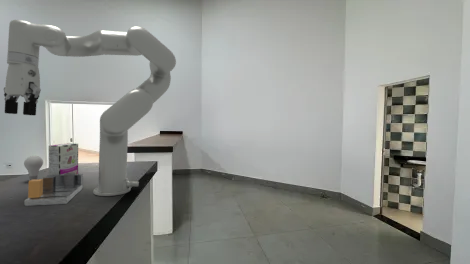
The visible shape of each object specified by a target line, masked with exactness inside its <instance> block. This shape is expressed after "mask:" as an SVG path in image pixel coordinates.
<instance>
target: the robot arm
mask: <svg viewBox="0 0 470 264" xmlns="http://www.w3.org/2000/svg"><path fill="white" fill-rule="evenodd" d="M7 43H8V44H7V56H6V57H7V58H6V63H7V64H8V67H7V71H6V77H5V87H3V92H4V94H3V96H4V113H5V114H9V115H10V114H12V115H18V113H19V112H18V111H19V110H18V109H19V102H18V99H19V98H20V97H21V98H24V99H23V100H25V101H23V107H22V108H23V110H22V114H23V115H25V116H36V115H37V103H38V102H39V101H38V99H39V98H40V93H41V90H42V89H41V78H40V77H41V76H40V75H41V74H40V68H39V62H40V61H39V60H40V58H39V57H40V47H43V48H45V49H46V50H47V51H48V52H49V53H51V54H52V55H55V56H59V57H73V58H75V57H76V58H79V57H82V58H83V57H96V56H98V57H99V56H103V55H105V56H107V55H109V56H132V57H133V56H143V57H144V58H146V60H148V61H149V69H150V74H149V77H148V78H146V80H144V81H143V82H142V83H141V84H139V86H138V87H136V88H133V89H131V90H128V92H127V93H126V94H124V95H123V96H122V97H121V98H119V100H117V101H116V102H114V103H113V104H112V105H111V106H110V107H108V108H107V109H105V110H104V112H103V113H101V115H100V117H99V146H98V147H99V148H98V149H99V151H98V185H97V187H95V188H94V189H93V190H92V192H93V194H94V195H95V196H100V197H112V196H120V195H125V194H127V193H129V192H130V191H131V187H134V188H135V187H139V184H140V182H139V181H138V180H137V181H136V180H129V177H127V172H128V168H127V166H128V148H129V147H128V136H129V135H128V131H129V129H131V128H132V127H133V126H135V124H137V123H138V122H140V120H141V119H143V117H145V116H146V115H147V114H148V113H149V112H150V111H151V110H152V108H153V105H154V104H155V103H156V102H157V101H158V100H159V99H160V98H161V97H162V96H163V95H164V94H165V93H166V92H167V91H168V90H169V88H170V85H171V79H172V77H171V72H172V71H173V70H174V69H175V68H176V64H177V59H176V57H175V54H174V53H173V52H172V50H170V49H169V48H168V47H167V46H166V45H165V44H164V43H163V42H161V41H160V40H159V39H158V38H157V37H156V36H155V35H153V34H152V33H151V32H150V31H148V30H147V29H146V28H143V27H141V26H138V25H136V26H131V27H130V28H129V29H128V30H127V31H118V30H107V29H106V30H105V29H100V30H99V29H98V30H96V31H94V32H92V33H89V34H88V35H80V36H74V35H73V36H72V35H66V33H65V32H64V31H63V29H62V28H60V27H59V26H55V25H50V24H43V23H40V24H38V23H32V22H30V21H27V20H24V19H23V20H22V19H13V20H11V21H10V22H9V27H8V41H7Z"/></svg>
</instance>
